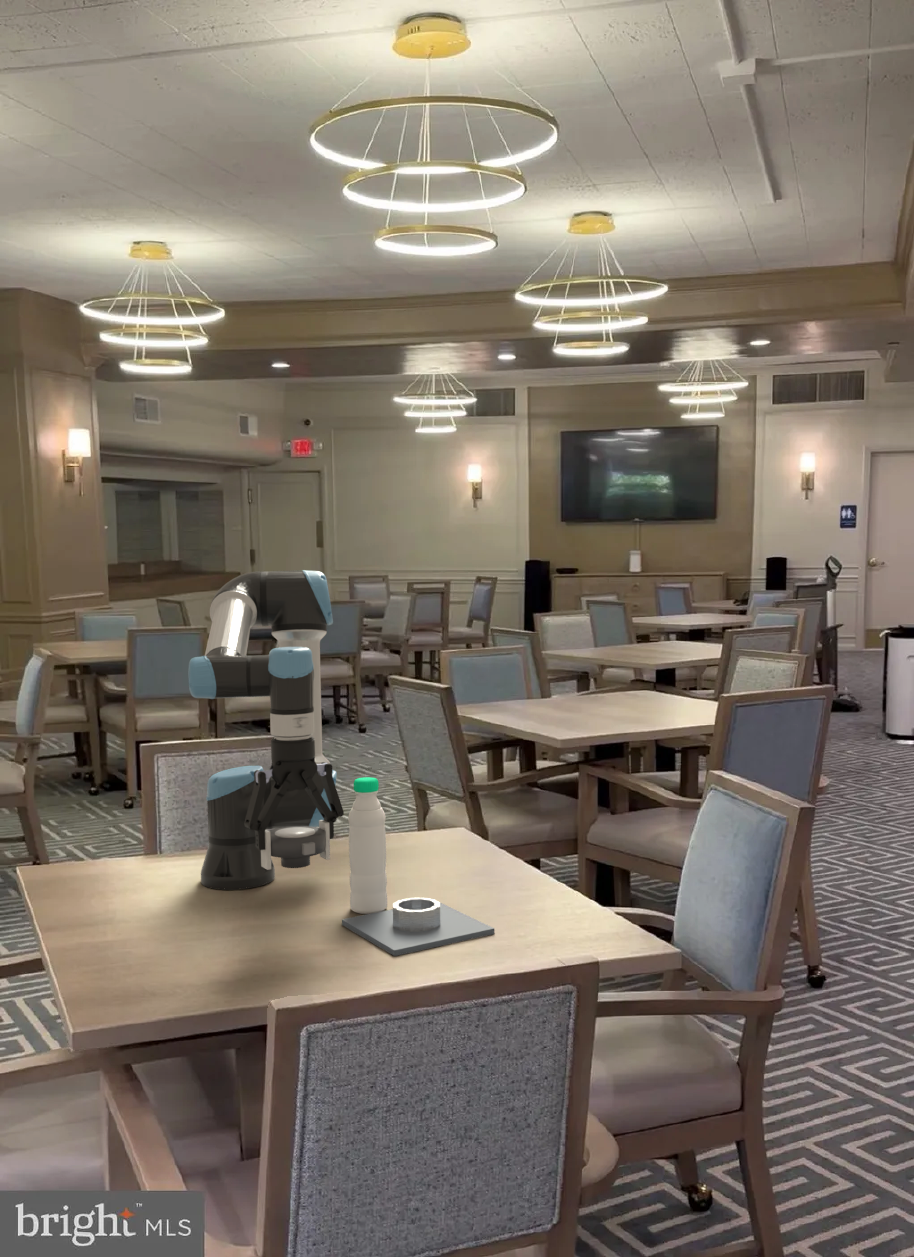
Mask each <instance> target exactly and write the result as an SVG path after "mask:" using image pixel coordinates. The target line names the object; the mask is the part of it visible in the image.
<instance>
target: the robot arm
mask: <svg viewBox="0 0 914 1257" xmlns="http://www.w3.org/2000/svg"><path fill="white" fill-rule="evenodd" d="M332 612H333V611H332V604H331V597H330V590H329V585H328V580H327V576H326V575H325V573H323V572H322V571H319V570H307V569H306V570H305V569H301V570H297V569H296V570H275V571H274V570H273V571H272V570H271V571H269V570H268V571H259V570H258V571H250V572H245V573H243V574H240V575H238V576H236V577H234V578H232V579H231V580H229V581H228V582H226V583H225V584H224V585H223V586H222V587H220V589H218V591H217V592H216V593H215V595H214V596H213V598H212V600H211V602H210V607H209V618H210V620H211V625H210V630H209V635H208V639H207V640H208V641H207V642H206V643H207V644H206V649H205V652H204V655H201V656H195V657H192V658H191V659H190V660H189V662H188V672H187V673H188V674H187V675H188V688H189V693H190V695H191V696H192V697H193V698H195V699H210V700H214V699H232V698H258V697H259V698H261V697H262V698H265V697H267V698H269V701H270V702H269V703H270V705H269V706H270V709H269V712H270V713H269V715H270V716H269V717H270V718H269V720H270V722H269V724H270V735H271V736H272V737H273V738H271V740H270V757H271V765H270V768H269V769H266V770H265V769H264V768H263V766H261V765H258V764H256V765H244V766H238V767H233V768H229V769H224V770H221V771H219V772H216V773H214V774H212V775H211V776H210V777H209V778H208V779H207V782H206V783H207V786H206V787H207V788H206V790H207V791H206V796H205V798H206V800H205V801H207V833H208V837H207V838H208V845H207V846H208V847H207V848H206V849H207V850H206V854H205V856H204V861H203V864H202V867H201V870H200V883H201V885H203V886H204V887H206V888H209V889H213V890H226V891H231V890H232V891H233V890H245V889H251V888H252V889H253V888H256V887H261V886H264V885H267V884H269V883H271V882H272V881H274V880H275V878H276V875H275V874H276V873H275V870H276V869H275V865H274V862H273V859H272V856H271V837H270V830H273V829H277V828H282V827H290V826H311V827H317V828H321V829H323V830H324V831H325V851H324V852H322V853H320V854H319V857H320V858H322V859H324V860H326V861H328V860H331V843H330V841H331V840H332V839H334V837H335V828H334V827H335V826H334V824H335V823H336V821H337V819H338V818H341V817H343V816H344V813H345V812H344V811H345V810H344V808H343V806H342V802H341V799H340V796H339V793H338V790H337V786H336V784H337V777H338V776H337V775H338V773H337V771H336V770H335V769H333V765H332V764H331V762H330V760H329V759H328V758H326V756H324V754H323V727H322V726H323V724H322V694H321V693H322V690H321V689H322V687H321V686H322V683H321V680H322V679H321V677H322V676H321V649H320V648H321V640H322V639H324V637H325V636H326V635H327V632H328V631H327V629H328V628H327V626H331V625H333V624H334V619H333V613H332ZM253 627H271V635H272V637H273V638H275V639H276V640H277V642H278V647H275V648H272V649H270V651H269V654H262V655H261V654H258V655H256V654H255V655H247V654H248V648H249V647H248V645H249V639H250V633H251V632H250V631H251V628H253Z"/></svg>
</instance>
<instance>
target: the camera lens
mask: <svg viewBox="0 0 914 1257" xmlns="http://www.w3.org/2000/svg"><path fill="white" fill-rule="evenodd" d="M269 831H270V837H271V857H273V858H279V859H280V863H281V867H282V868H286V869H300V868H306V867H308V866H310V865H311V857H313V856H316V855H320V853H322V852H324V851H325V831H324V830H323V829H321V828H319V827H311V826H290V827H282V828H277V829H269Z"/></svg>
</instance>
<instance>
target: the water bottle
mask: <svg viewBox="0 0 914 1257" xmlns="http://www.w3.org/2000/svg"><path fill="white" fill-rule="evenodd" d="M379 783H380V782H379V779H378V778H376V777H369V776H368V777H367V776H365V777H364V776H363V777H358V778H356V779H354V781H353V791H354V794H355V800H354V801H353V803H352V807H351V809H350V811H349V814H348V816H347V817H348V818H347V821H348V824H349V828H348V858H349V869H350V873H349V887H350V893H349V894H350V896H349V897H350V898H349V907H350V909H351V911H353V912H354V913H357V914H362V915H366V914H371V913H376V912H382V911H386V909H387V907H388V892H387V885H388V881H387V880H388V877H387V872H386V870H387V869H386V867H387V837H386V836H387V835H386V826H385V822H386V819H387V818H386V813H385V811H384V808H383V807H382V806H381V802H380V801H379V799H378V797H377V794H378V793H379V787H380V786H379Z"/></svg>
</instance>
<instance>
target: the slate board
mask: <svg viewBox="0 0 914 1257" xmlns="http://www.w3.org/2000/svg"><path fill="white" fill-rule="evenodd" d="M341 926H343V927H345V928H347V929H348V930H350V931H352V932H353V933H355V934H357V935H358V936H360V937H362V938H363V939H365V941H368V942H370V943H372V944H373V945H375V946H377V947H378V948H380V949H381V950H383V949H384V950H383V951H385V952H387V953H389V954H390V955H391V956H393V957H397V956H402V955H406V954H411V953H415V952H420V951H424V950H428V949H432V948H433V949H434V948H437V947H442V946H447V945H450V944H451V945H452V944H455V943H460V942H465V941H468V940H474V939H478V938H483V937H486V936H491V935H495V927H493V926H491V925H488V924H486V923H484V922H482V921H480V920H478V919H476V918H474V917H471V915H467V913H463V912H461V911H459V910H457V909H455V908H454V907H451V906H449V905H447V904H445V903H442V902H440V926H438V927H437V928H435V929H431V930H427V931H413V932H410V931H404V930H399V929H397V928H395V927H393V908H392V909H389V910H383V911H381V912H376V913H371V914H362V915H357V916H352V917H347V918H343V919H341Z"/></svg>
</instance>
